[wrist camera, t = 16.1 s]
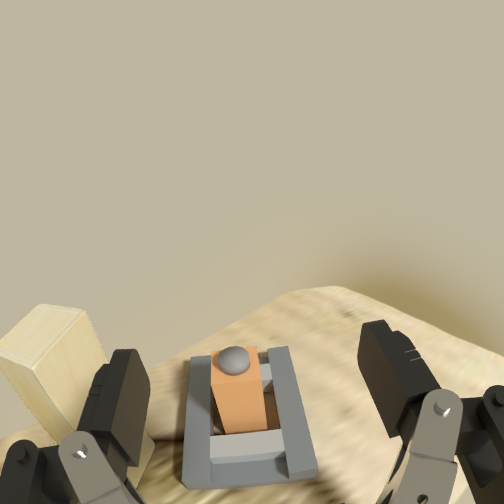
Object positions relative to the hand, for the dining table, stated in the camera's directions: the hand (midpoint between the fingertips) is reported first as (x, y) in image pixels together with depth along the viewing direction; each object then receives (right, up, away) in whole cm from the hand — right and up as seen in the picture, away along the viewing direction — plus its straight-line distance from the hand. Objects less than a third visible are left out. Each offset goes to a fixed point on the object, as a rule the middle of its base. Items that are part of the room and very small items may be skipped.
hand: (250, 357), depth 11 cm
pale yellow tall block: (-16, -22, +19) cm, 33 cm away
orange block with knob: (-1, -17, +26) cm, 31 cm away
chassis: (-1, -17, +26) cm, 31 cm away
